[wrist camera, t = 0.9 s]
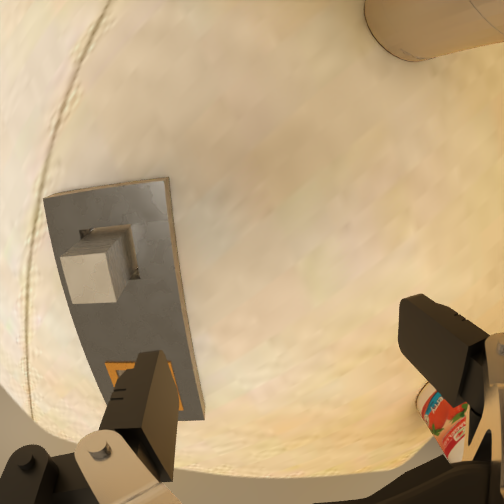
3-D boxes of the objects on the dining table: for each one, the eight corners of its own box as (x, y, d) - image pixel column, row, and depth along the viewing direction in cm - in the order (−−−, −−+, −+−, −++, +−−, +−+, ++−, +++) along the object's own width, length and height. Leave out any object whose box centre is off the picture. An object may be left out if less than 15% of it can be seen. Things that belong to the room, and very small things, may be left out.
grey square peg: (95, 227, 29) (59, 257, 21) (132, 223, 29) (105, 252, 21) (102, 266, 30) (72, 303, 23) (139, 263, 30) (116, 302, 23)
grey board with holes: (54, 193, 27) (42, 199, 25) (168, 177, 28) (163, 180, 25) (117, 406, 37) (113, 420, 34) (205, 405, 37) (204, 421, 35)
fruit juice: (429, 415, 44) (499, 534, 18) (405, 402, 42) (484, 543, 15) (468, 378, 42) (553, 489, 16) (448, 359, 40) (550, 490, 13)
